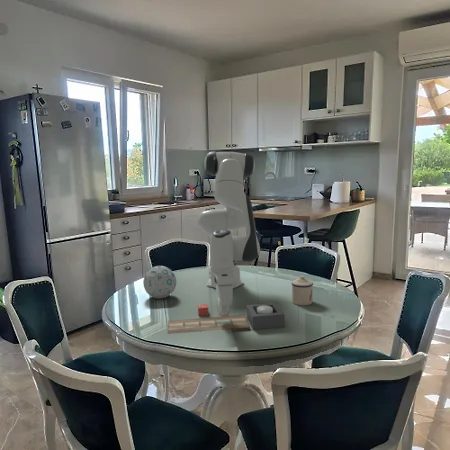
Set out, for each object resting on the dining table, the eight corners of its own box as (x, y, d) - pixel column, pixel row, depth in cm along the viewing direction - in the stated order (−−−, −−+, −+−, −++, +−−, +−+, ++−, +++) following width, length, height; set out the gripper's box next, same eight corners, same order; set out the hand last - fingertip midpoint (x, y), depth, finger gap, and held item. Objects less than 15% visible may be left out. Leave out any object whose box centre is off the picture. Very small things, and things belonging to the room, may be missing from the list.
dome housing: (246, 317, 152) (246, 305, 151) (276, 314, 153) (276, 302, 152) (252, 329, 140) (252, 316, 139) (284, 326, 141) (284, 314, 141)
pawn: (218, 312, 146) (217, 297, 145) (228, 312, 146) (228, 297, 145) (218, 317, 142) (217, 301, 141) (229, 316, 142) (228, 300, 141)
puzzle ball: (143, 304, 169) (141, 271, 167) (145, 293, 184) (143, 263, 182) (177, 301, 172) (176, 269, 169) (176, 291, 186) (175, 261, 184)
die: (198, 314, 156) (197, 304, 156) (207, 313, 157) (207, 303, 156) (198, 317, 152) (198, 308, 152) (208, 317, 153) (208, 307, 152)
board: (168, 323, 148) (168, 320, 148) (244, 317, 151) (244, 314, 151) (167, 336, 136) (167, 333, 136) (250, 329, 140) (250, 327, 140)
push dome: (255, 313, 149) (255, 306, 148) (270, 312, 149) (270, 304, 149) (258, 319, 143) (258, 311, 142) (274, 318, 144) (274, 310, 143)
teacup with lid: (314, 305, 162) (314, 279, 160) (293, 306, 162) (293, 279, 160) (309, 296, 173) (309, 271, 172) (289, 296, 174) (289, 271, 172)
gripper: (211, 267, 151) (212, 300, 153) (217, 282, 131) (218, 320, 133) (227, 266, 152) (228, 299, 154) (235, 281, 132) (236, 319, 134)
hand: (223, 309), depth 143 cm, fingers closed on pawn, 4 cm apart
